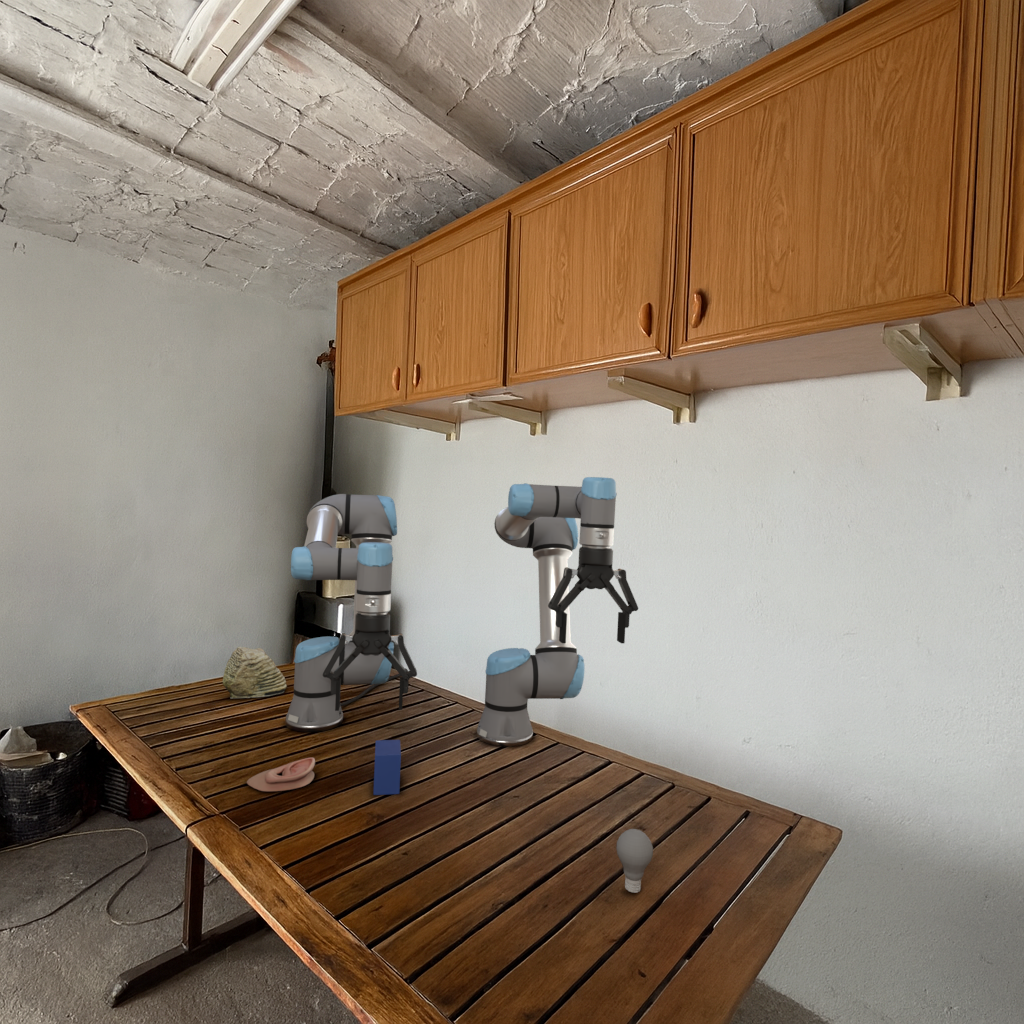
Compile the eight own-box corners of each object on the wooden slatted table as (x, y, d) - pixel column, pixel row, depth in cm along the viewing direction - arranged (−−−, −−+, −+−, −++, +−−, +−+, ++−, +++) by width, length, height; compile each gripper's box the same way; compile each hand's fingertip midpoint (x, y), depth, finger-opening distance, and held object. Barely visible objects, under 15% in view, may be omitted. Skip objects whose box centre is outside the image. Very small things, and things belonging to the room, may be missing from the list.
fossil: (218, 695, 195) (220, 647, 195) (278, 685, 208) (279, 640, 207) (228, 703, 189) (230, 653, 188) (289, 692, 201) (290, 645, 201)
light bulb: (610, 879, 108) (613, 822, 108) (644, 879, 109) (647, 822, 109) (619, 902, 102) (622, 840, 102) (655, 901, 103) (658, 840, 103)
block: (374, 777, 144) (375, 740, 144) (398, 776, 145) (400, 739, 145) (373, 795, 135) (374, 755, 135) (399, 794, 137) (400, 754, 136)
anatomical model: (238, 769, 136) (269, 749, 147) (238, 787, 136) (269, 766, 147) (295, 777, 133) (322, 756, 144) (294, 796, 133) (321, 773, 144)
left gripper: (312, 614, 134) (308, 714, 134) (430, 616, 138) (426, 712, 138) (316, 609, 141) (313, 703, 142) (429, 610, 146) (425, 702, 146)
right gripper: (545, 546, 134) (541, 646, 135) (655, 549, 139) (651, 645, 140) (537, 543, 142) (533, 638, 142) (642, 547, 147) (637, 638, 147)
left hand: (369, 708), depth 140 cm, fingers open, 13 cm apart
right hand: (591, 642), depth 141 cm, fingers open, 13 cm apart
